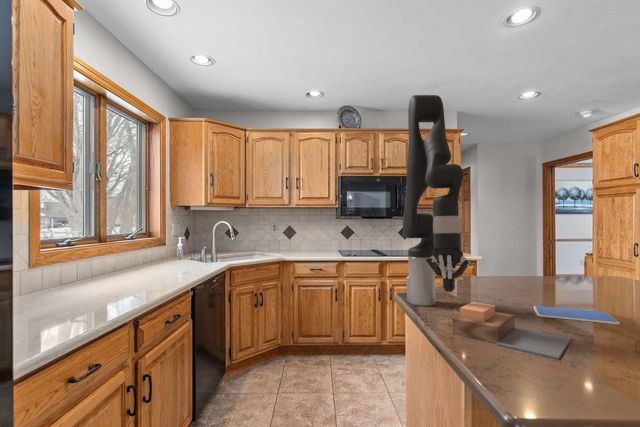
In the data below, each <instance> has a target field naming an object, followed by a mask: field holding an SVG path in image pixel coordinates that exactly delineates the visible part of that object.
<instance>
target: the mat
mask: <svg viewBox="0 0 640 427" xmlns="http://www.w3.org/2000/svg"><path fill="white" fill-rule="evenodd" d="M571 340H572V337H568V336H563V335H558V334H552V333H547V332H540V331H537V330H529V329H526V328H520V327H515V329H514V330H512V331H511V332H510V333H509V334H508V335H506V336H505V337H504V338H503V339H502V340H501V341H499V342H498V343H497V344H496V345H497V346H499V347H503V348H507V349H511V350H516V351H519V352H520V351H521V352H524V353H529V354H533V355H537V356H542V357H546V358H550V359H555V360H559V359H560V358H561V357H562V355H563V354H564V352H565V350H566V349H567V347H568V345H569V343H570V342H571Z"/></svg>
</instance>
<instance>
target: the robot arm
mask: <svg viewBox="0 0 640 427" xmlns="http://www.w3.org/2000/svg"><path fill="white" fill-rule="evenodd" d="M444 109H445V108H444V103H443V100H442V98H441V96H439V95H436V94H417V95H412V96H411V97H410V99H409V102H408V109H407V115H408V116H407V118H408V120H407V121H408V122H407V123H408V124H407V125H408V142H407V143H408V144H407V145H408V147H407V160H406V184H405V185H406V186H405V201H404V210H403V216H402V217H403V218H402V232H403V235H404V237H405V238H406V239H421V240H420V242H419V243H418V244H416V245H415V246H413V247H410V248H408V250H407V257H408V258H407V260H408V261H407V264H408V275H407V276H406V299H407V300H406V302H407V303H409V304H411V305H413V306H414V305H415V306H420V307H421V306H422V307H423V306H424V307H427V306H428V307H429V306H433V305H436V301H437V300H436V299H437V298H436V297H437V296H436V277H435V276H438V277H440V278H442V287H443V290H444V291H445V292H449V293H452V292H454V290H455V288H456V283H455V279H456V278H458V277H459V278H460V277H461V276H462V275H463V274H464V273H465V271H466V270H467V269H468V268H469V266H470V265H471V264H472V260H471V259H468V258H466V257H465V255H464V253H463V251H462V236H461V234H462V233H461V231H462V229H461V221H460V216H459V215H460V214H459V201H460V200H459V198H460V192H461V188H462V185H463V180H464V177H465V176H464V170H463V168H462V167H461V166H460V165H459V164H457V163H452V164H448V163H450V162H451V159H452V154H451V150H450V146H449V143H448V138H447V134H446V123H445V120H446V119H445V110H444ZM420 123H433V126H432V127H431V129H430V131H429V132H428V133H427V135H426V137H425V140H424V139H423V137H422V134H421V130H420ZM428 187H429V188H430V189H437V190H438V189H448V192H447V193H446V194H445V195H439V196H437V197H435V198H433V200H432V214H431V213H424V212H423V213H417V209H418V205H419V202H420V200H421V198H422V196H423V194H425V192H426V191H427V189H428ZM459 263H460V264H459ZM458 264H459V265H460V266H459V267H458V268H457V266H458Z"/></svg>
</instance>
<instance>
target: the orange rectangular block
mask: <svg viewBox="0 0 640 427" xmlns="http://www.w3.org/2000/svg"><path fill="white" fill-rule="evenodd" d="M495 312H496V305H495V304H489V303H484V302H483V303H482V302H476V301H472V302H469V303H467V304H466V305H463V306H461V307H459V315H460V317H461V318H467V319H472V320H477V321H482V322H484V321H486V320H487V319H489V318H490V317H492V316H494V315H495Z"/></svg>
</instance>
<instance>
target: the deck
mask: <svg viewBox="0 0 640 427" xmlns="http://www.w3.org/2000/svg"><path fill="white" fill-rule="evenodd" d="M515 321H516V320H515V314H510V313H503V312H498V311H495V315H494V316H492V317H490V318H489V319H487V320H486V321H484V322H482V321H477V320H472V319H467V318H461V317H460V314H459V315H457V316H454V317H453V318H452V334H453V335H457V336H460V337H466V338H470V339H474V340H479V341H484V342H487V343H492V344H496V345H497V343H498V342H499V341H501V340H502V339H503V338H504V337H505V336H506V335H508V334H509V333H510V332H511V331H512V330H514V329H515V328H516V322H515Z"/></svg>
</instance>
